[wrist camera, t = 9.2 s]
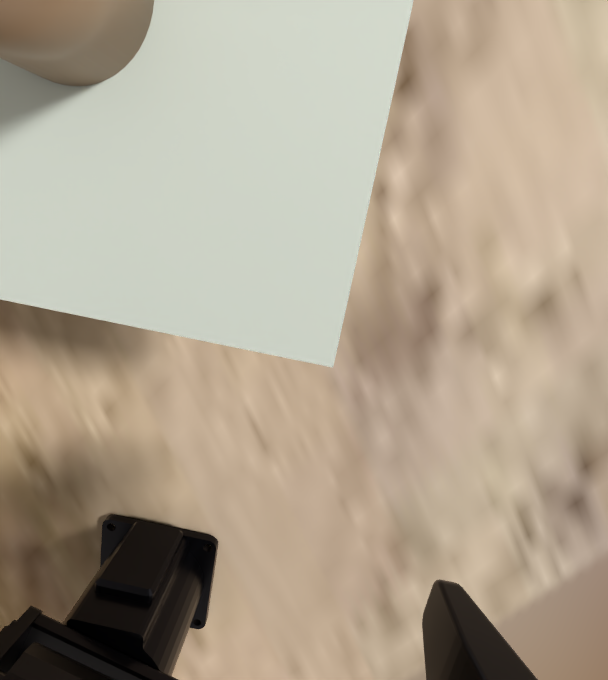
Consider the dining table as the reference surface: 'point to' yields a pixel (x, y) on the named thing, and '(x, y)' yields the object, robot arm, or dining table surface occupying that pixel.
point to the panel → (194, 162)
